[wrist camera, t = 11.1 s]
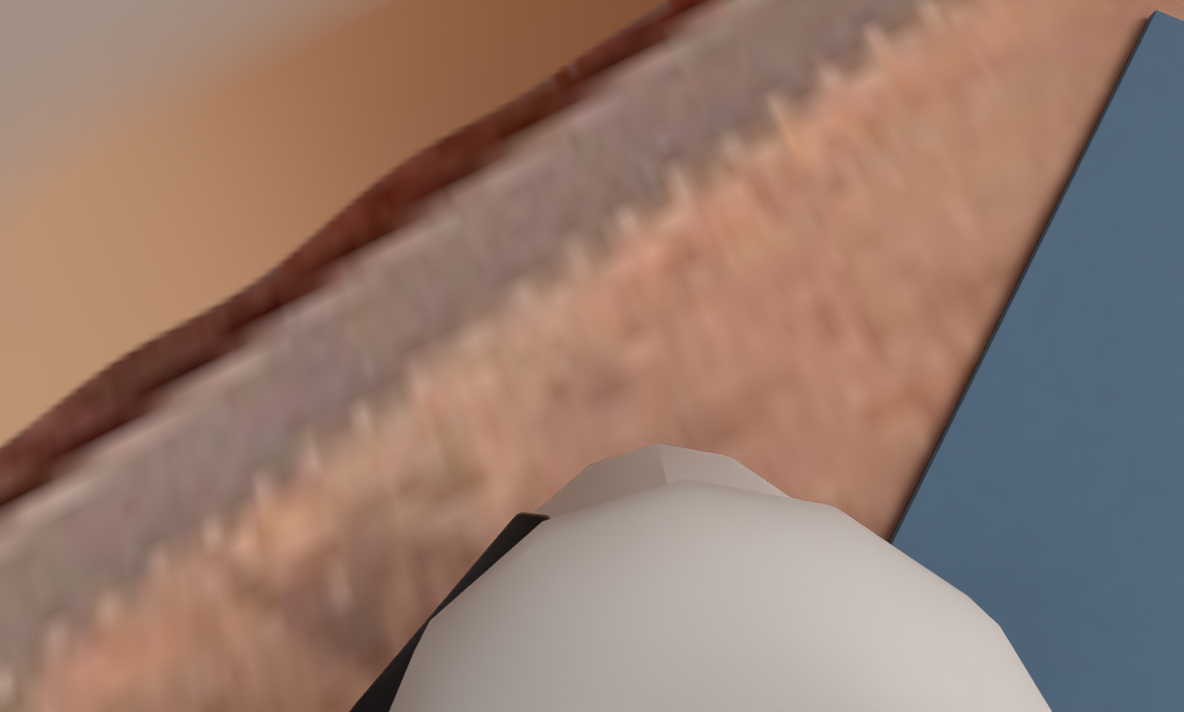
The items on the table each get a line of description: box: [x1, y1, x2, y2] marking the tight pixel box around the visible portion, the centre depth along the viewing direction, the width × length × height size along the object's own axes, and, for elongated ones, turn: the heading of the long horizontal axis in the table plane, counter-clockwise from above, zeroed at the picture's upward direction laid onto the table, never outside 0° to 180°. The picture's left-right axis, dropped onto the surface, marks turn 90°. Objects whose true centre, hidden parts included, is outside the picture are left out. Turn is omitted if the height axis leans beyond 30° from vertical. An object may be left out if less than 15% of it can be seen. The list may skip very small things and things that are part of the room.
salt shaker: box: [389, 443, 1052, 712], centre depth 10 cm, size 6×6×13 cm
